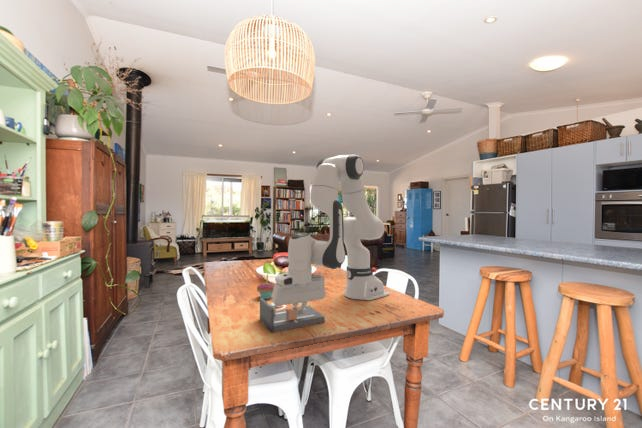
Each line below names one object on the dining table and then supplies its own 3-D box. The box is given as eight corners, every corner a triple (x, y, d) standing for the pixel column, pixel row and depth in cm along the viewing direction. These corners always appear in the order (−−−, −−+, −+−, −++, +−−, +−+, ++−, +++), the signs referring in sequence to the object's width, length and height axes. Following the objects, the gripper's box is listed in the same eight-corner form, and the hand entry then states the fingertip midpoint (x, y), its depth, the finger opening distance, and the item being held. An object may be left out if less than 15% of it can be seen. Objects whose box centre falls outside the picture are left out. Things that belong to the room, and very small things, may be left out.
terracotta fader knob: (293, 316, 108) (293, 306, 108) (296, 319, 105) (296, 309, 105) (286, 317, 107) (286, 308, 106) (289, 320, 104) (289, 310, 104)
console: (308, 310, 122) (308, 291, 122) (325, 322, 109) (325, 301, 108) (259, 318, 112) (259, 298, 112) (271, 333, 99) (271, 309, 99)
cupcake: (277, 298, 137) (277, 273, 137) (260, 301, 133) (260, 275, 132) (270, 294, 144) (270, 270, 144) (254, 296, 140) (254, 272, 140)
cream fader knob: (273, 311, 113) (273, 302, 112) (275, 314, 110) (275, 305, 110) (265, 313, 111) (265, 303, 111) (268, 315, 108) (268, 306, 108)
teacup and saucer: (266, 311, 121) (266, 302, 121) (265, 305, 128) (265, 296, 128) (287, 310, 123) (287, 300, 123) (284, 304, 131) (284, 295, 131)
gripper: (320, 272, 115) (320, 306, 115) (271, 277, 105) (270, 315, 105) (328, 275, 109) (328, 311, 109) (276, 281, 100) (276, 321, 100)
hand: (299, 313), depth 107 cm, fingers closed
